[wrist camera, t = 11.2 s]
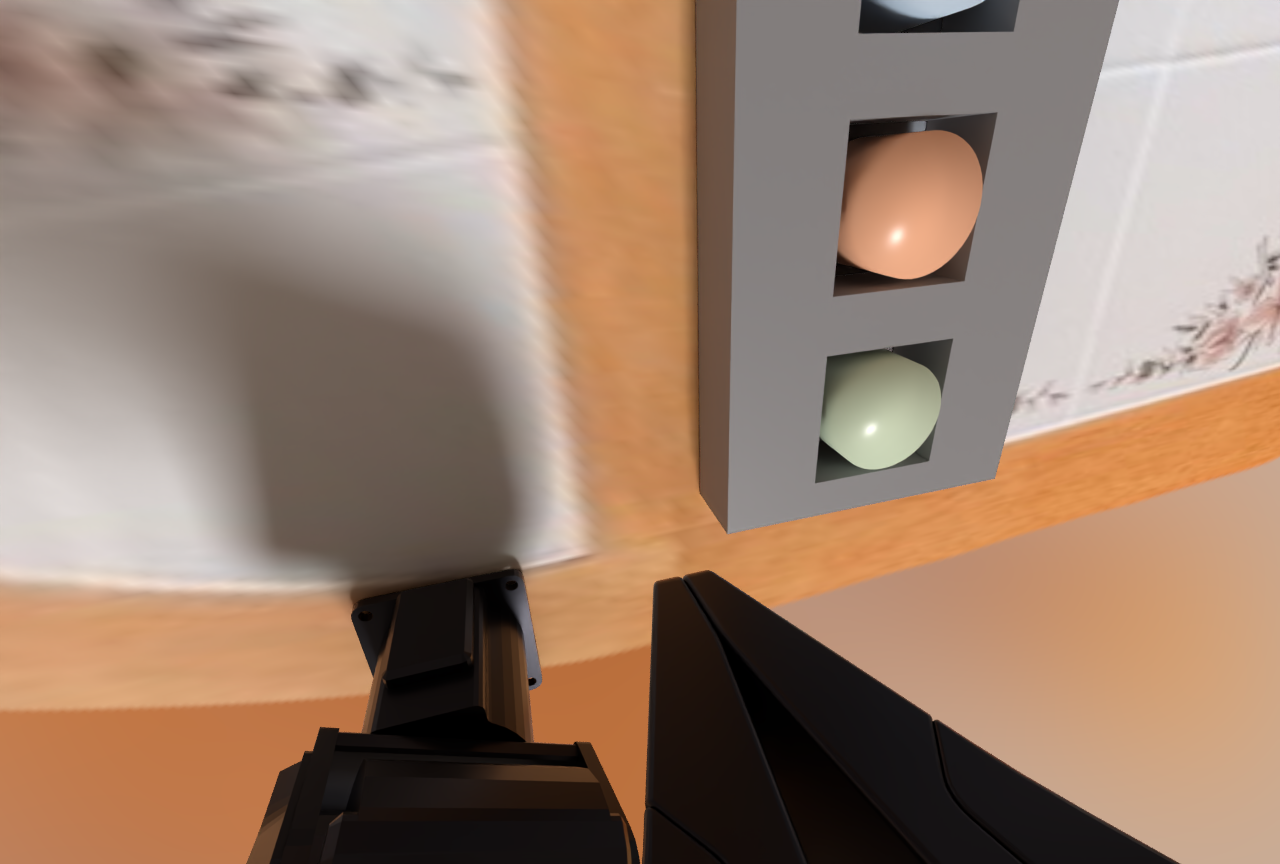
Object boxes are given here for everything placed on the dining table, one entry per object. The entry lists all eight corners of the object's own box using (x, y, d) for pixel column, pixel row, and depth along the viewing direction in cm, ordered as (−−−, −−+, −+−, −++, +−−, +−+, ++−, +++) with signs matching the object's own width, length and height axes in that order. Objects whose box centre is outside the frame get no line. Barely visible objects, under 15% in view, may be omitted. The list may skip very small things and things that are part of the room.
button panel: (942, 447, 26) (994, 478, 23) (700, 493, 23) (727, 534, 21) (1079, -215, 16) (1194, -290, 14) (693, -253, 14) (742, -352, 11)
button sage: (877, 426, 24) (930, 459, 21) (789, 441, 23) (831, 478, 20) (891, 331, 22) (950, 354, 19) (796, 344, 21) (843, 370, 19)
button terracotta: (902, 259, 21) (967, 272, 18) (801, 270, 20) (853, 285, 17) (920, 133, 19) (996, 126, 16) (811, 139, 18) (870, 133, 16)
